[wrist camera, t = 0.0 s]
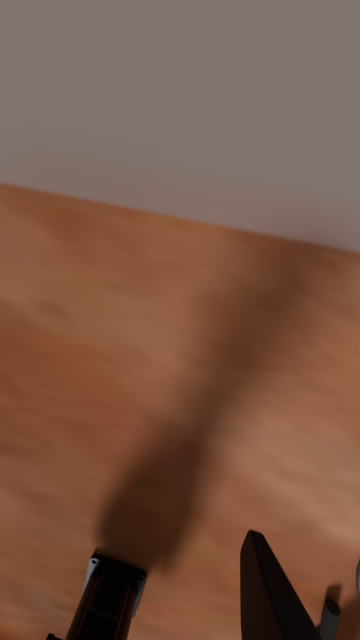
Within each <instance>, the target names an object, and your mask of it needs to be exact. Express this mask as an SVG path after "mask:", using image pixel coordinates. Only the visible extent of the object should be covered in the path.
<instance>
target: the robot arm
mask: <svg viewBox="0 0 360 640" xmlns="http://www.w3.org/2000/svg"><path fill="white" fill-rule="evenodd" d="M145 580H146V573H145V572H144V571H141V570H139V569H136V568H133V567H130V566H127V565H124V564H122V563H119V562H116V561H113V560H110V559H107V558H105V557H102V556H99V555H96V554H93V555H92V556H91V559H90V561H89V566H88V570H87V574H86V579H85V583H84V587H83V591H82V596H81V597H82V598H81V600H80V603H79V605H78V608H77V610H76V613H75V616H74V618H73V621H72V623H71V626H70V628H69V631H68V633H67V636H66V638H65V640H127V637H128V633H129V628H130V624H131V620H132V617H134V616H135V613H136V610H137V607H138V603H139V600H140V597H141V594H142V590H143V587H144V584H145ZM240 598H241V632H242V640H323V639H322V637H321V636H320V634H319V632H318V630H317V629H316V627H315V625H314V623H313V622H312V620H311V618H310V616H309V615H308V613H307V611H306V609H305V608H304V606H303V604H302V602H301V600H300V599H299V597H298V595H297V593H296V592H295V590H294V588H293V586H292V585H291V583H290V581H289V579H288V578H287V576H286V574H285V572H284V571H283V569H282V567H281V565H280V563H279V562H278V560H277V558H276V556H275V555H274V553H273V551H272V549H271V548H270V546H269V544H268V542H267V541H266V539H265V537H264V535H263V534H262V533H260V532H257V531H254V530H249V531H248V533H247V535H246V538H245V540H244V543H243V545H242V548H241V553H240ZM46 640H63V639H60V638H57V637H55V635H54V634H51V633H49V635H48V637H47V639H46Z"/></svg>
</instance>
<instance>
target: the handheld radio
mask: <svg viewBox="0 0 360 640" xmlns="http://www.w3.org/2000/svg"><path fill="white" fill-rule="evenodd" d="M340 613H341V611H340V608H339V606H338V604H337V603H336V602H335V601H334V600H332V599H327V600H326V602H325V607H324V612H323V617H322V622H321V626H320V636H321V637H322V639H323V640H334V639H335V634H336V630H337V626H338V622H339V617H340Z"/></svg>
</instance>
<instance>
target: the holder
mask: <svg viewBox="0 0 360 640" xmlns="http://www.w3.org/2000/svg"><path fill="white" fill-rule="evenodd" d="M356 584H357V589H358V593H359V596H360V560H359V563H358V567H357V571H356Z"/></svg>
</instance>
